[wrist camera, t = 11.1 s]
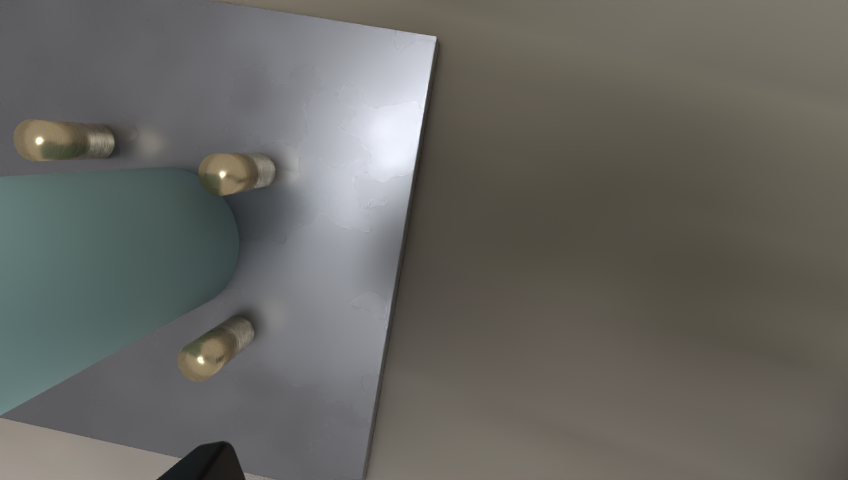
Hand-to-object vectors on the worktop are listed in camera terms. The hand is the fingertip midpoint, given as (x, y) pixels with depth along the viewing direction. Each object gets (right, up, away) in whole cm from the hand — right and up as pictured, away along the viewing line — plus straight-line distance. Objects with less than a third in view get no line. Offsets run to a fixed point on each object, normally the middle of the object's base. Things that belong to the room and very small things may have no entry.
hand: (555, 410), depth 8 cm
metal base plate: (-10, +3, +14) cm, 18 cm away
